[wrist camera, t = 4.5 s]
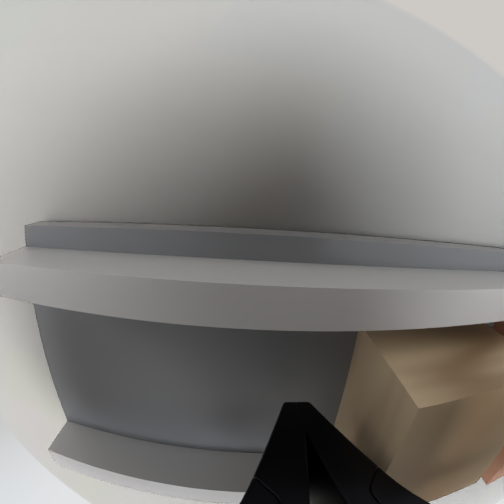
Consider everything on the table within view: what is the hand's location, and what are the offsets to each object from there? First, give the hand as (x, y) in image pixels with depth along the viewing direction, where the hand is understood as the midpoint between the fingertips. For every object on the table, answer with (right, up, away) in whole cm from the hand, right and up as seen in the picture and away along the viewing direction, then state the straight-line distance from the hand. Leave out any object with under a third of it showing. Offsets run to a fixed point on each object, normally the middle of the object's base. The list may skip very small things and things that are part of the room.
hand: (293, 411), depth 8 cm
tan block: (+4, 0, +1) cm, 4 cm away
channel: (+1, 0, +2) cm, 2 cm away
